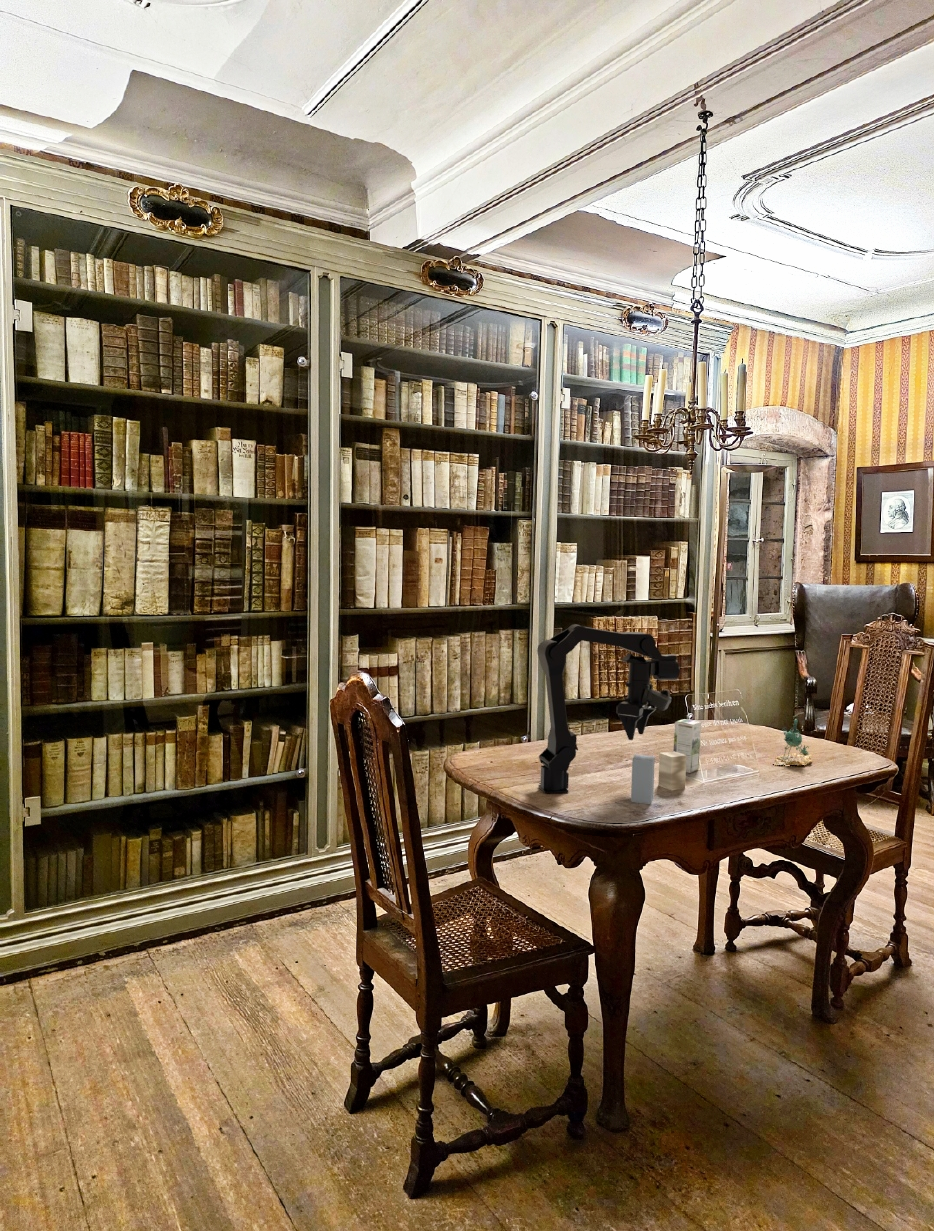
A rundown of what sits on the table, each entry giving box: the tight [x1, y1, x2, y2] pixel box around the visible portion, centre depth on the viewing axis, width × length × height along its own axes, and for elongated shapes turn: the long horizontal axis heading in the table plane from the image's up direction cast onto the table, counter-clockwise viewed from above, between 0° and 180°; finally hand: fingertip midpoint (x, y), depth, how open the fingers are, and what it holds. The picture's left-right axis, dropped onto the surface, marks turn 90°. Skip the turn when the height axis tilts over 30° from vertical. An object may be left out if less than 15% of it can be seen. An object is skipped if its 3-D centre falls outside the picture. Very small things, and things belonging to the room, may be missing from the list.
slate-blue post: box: [630, 754, 656, 805], centre depth 206 cm, size 5×5×11 cm
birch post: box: [657, 750, 687, 791], centre depth 219 cm, size 5×5×9 cm
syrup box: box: [673, 718, 702, 774], centre depth 236 cm, size 6×6×14 cm
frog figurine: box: [773, 718, 812, 766], centre depth 247 cm, size 10×18×15 cm, turn 116°
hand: (635, 737), depth 218 cm, fingers open, 9 cm apart
